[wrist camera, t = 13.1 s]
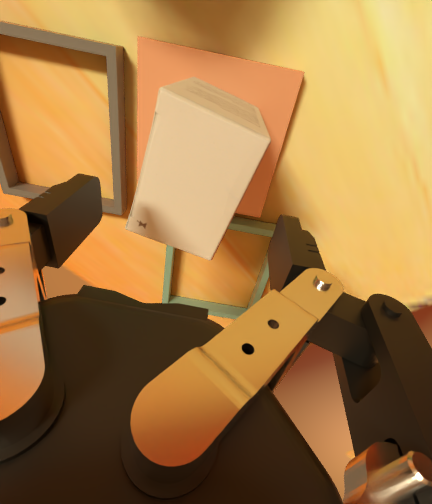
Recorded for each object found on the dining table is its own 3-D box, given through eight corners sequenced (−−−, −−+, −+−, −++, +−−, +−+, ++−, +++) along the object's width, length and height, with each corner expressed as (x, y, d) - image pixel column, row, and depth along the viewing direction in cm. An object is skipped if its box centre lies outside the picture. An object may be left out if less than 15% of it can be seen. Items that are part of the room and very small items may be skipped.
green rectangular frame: (283, 225, 28) (285, 233, 26) (251, 313, 35) (251, 322, 34) (172, 204, 27) (169, 211, 26) (164, 297, 35) (161, 306, 34)
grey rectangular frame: (123, 46, 20) (115, 46, 19) (127, 208, 28) (121, 215, 27) (-36, 13, 20) (-54, 10, 18) (13, 187, 27) (3, 193, 26)
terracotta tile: (302, 71, 20) (304, 72, 19) (259, 213, 27) (260, 217, 26) (141, 36, 20) (137, 36, 19) (139, 191, 27) (137, 194, 26)
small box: (220, 195, 25) (211, 265, 17) (163, 171, 24) (122, 232, 16) (261, 106, 21) (276, 140, 12) (193, 73, 20) (158, 85, 11)
